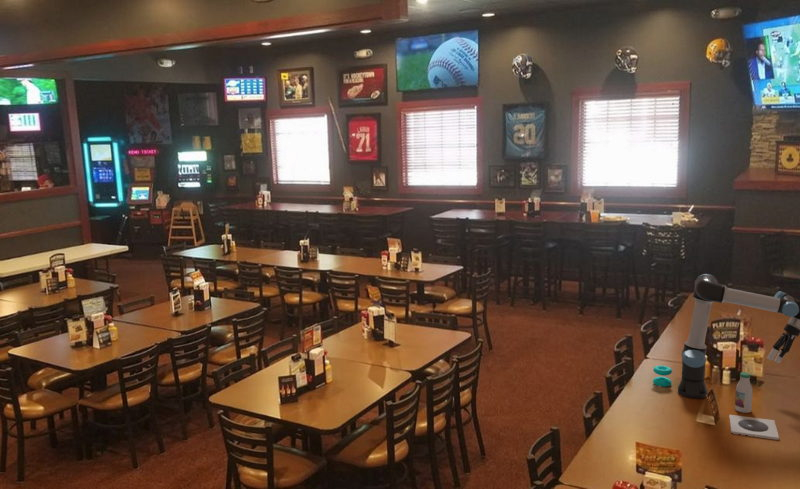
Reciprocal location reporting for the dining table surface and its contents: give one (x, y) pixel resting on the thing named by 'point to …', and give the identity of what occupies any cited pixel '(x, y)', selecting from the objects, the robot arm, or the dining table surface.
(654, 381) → the donuts
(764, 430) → the board
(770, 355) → the robot arm
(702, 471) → the dining table surface
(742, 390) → the milk bottle
